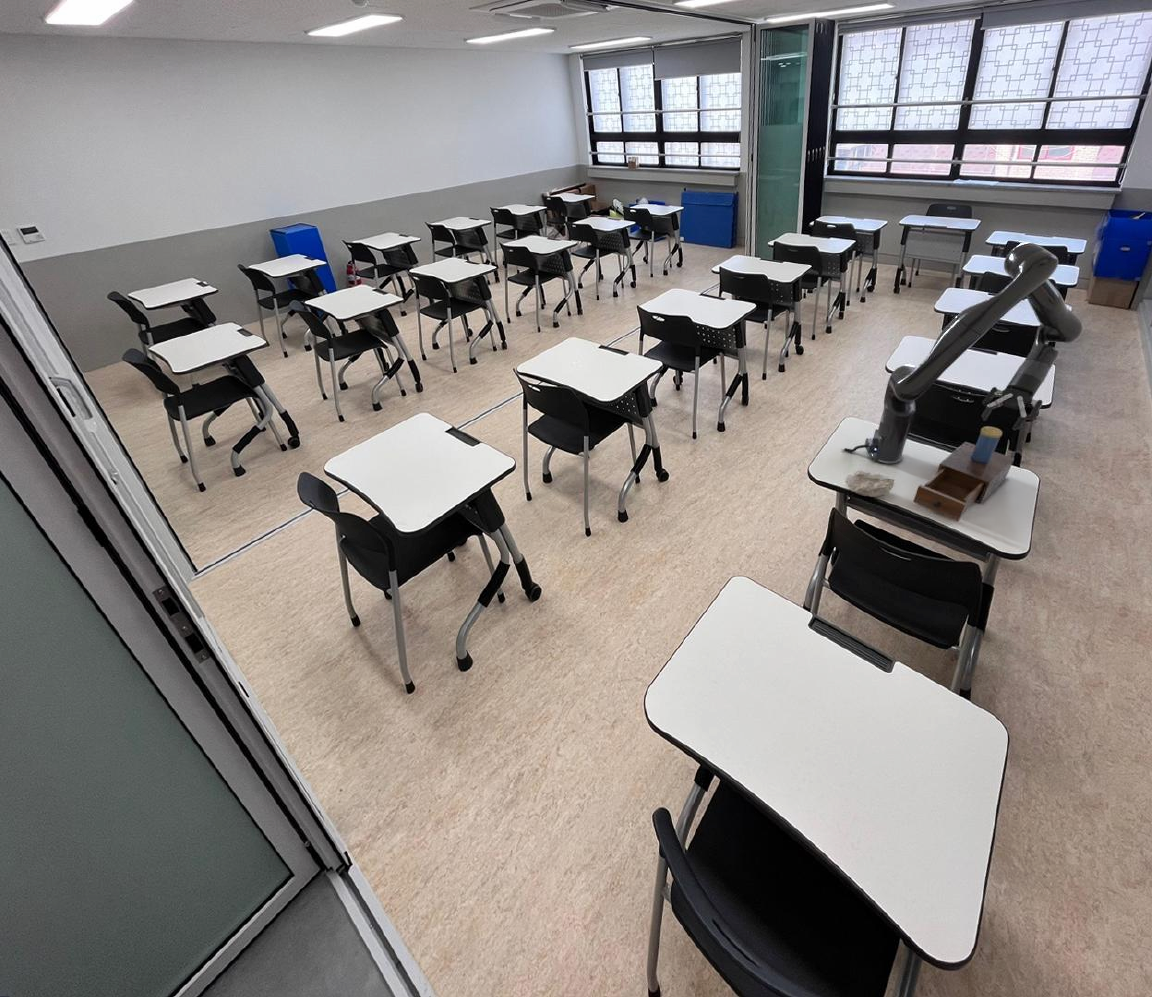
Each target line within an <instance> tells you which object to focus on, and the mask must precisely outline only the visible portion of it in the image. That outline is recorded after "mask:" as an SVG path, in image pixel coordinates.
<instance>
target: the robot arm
mask: <svg viewBox="0 0 1152 997" xmlns="http://www.w3.org/2000/svg"><path fill="white" fill-rule="evenodd" d="M1058 266H1059V259H1058V257H1057V256H1056V255H1055V254H1054V253H1052V252H1051V251H1049V250H1047V249H1046V248H1044V247H1043V246H1041V245H1039V244H1037V243H1033V242H1025V243H1020V244H1019V245H1016V247H1014V248H1013V249H1011V250H1010V251H1009V253H1008V254H1007V255H1006V257H1005V258H1004V262H1003V269H1004V271H1005V273H1006V274H1007V275H1008V276H1009V277H1010V278H1011V279H1013V280H1012V281H1011V282H1010V283H1008V284H1007V285H1006V286H1005V287H1004V288H1003V289H1002V290H1001V291H999V292H997V293H996V294H995V295H994V296H992V297H990V298H987V299H984V300H983V301H980V302H978V303H975V304H972V305H970V306H968V307H966V308H965V309H963V310H961V311H960V312H959V313H958V314H957V315H956V316H955V317H954V318H953V319H952V320H950V322H948V324H947V325H946V326H945V327H944V328H943V329H942V331H941V332H940V334H939V335H938V336H937V338H936V340H935V342H934V345H933V346H932V348H931V350H930V352H929V353H928V355H927V356H926V357H925V359H924V360H923V361H922V362H921V363H920V364H919V365H918V366H917V367H916V366H915V365H913V364H912V365H911V364H904V365H901V366H899V367H896V369H895V370H893V371H892V373H891V374H890V376H889V378H888V382H887V384H886V390H885V393H884V398H883V410H882V414H881V417H880V420H879V424H878V428H877V429H875V430H874V434H873V437H870V438H869V437H867V438H865V441H864V444H860V445H855V447H853V448H846V447H845V448H844V450H843V451H844V452H847V453H854V452H856V451H857V450H859V449H864V448H865V450H866V452H867V453H868V454H870V457H871V458H872V459H873V462H878V463H881V464H887V465H893V464H897V463H899V462H901V460H902V456H903V452H904V448H905V445H906V442H907V439H908V435H909V433H910V429H911V426H912V423H913V420H914V416H915V413H916V401H917V400H918V399H920V398H921V397H922V396H924V395H925V394H926V393H927V391H928V390H929V389H930V388H931V387H932V386H933V385H934V383H936V381H938V379H939V378H940V377H941V376H942V375H943V374H944V372H945V371H947V369H949V368H950V367H951V366H952V364H954V363H955V362H956V361H957V360H958V359H959V358H960V357H961V356H962V355H963V354H964V353H965V352H967V351H968V350H969V349H970V348H971V347H972V346H973V345H975V343H977V341H978V340H980V339H981V338H982V337H983V336H984V335H985V334H986V333H987V332H988V331H989V330H990V329H991V328H992V327H993V326H995V324H996V323H998V322H999V321H1000V320H1001V319H1002V318H1003V317H1004V316H1005V315H1006V314H1008V313H1009V312H1010V311H1011V310H1012V309H1014V308H1015V307H1016V306H1017V305H1018V304H1019V303H1020V302H1022V301H1023V300H1024V299H1027V301H1028V303H1029V305H1030V307H1031V309H1032V311H1033V314H1034V315H1035V318H1036V319H1037V321H1038V323H1039V325H1038V327H1037V330H1036V334H1035V339H1034V342H1033V345H1032V347H1031V350H1030V352H1029V353H1028V355H1027V356H1026V358H1025V359H1024V360H1023V362H1022V363H1021V364H1020V365H1019V367H1018V368H1017V370H1016V371H1015V372H1014V374H1013V376H1012V378H1011V380H1010V381H1009V382H1008V384H1007V386H1006V387H1005V388H1004V389H1003V390H1002V389H999V388H998V387H996V386H993V387H992V388H991V389H990V391H989V392H988V393H987V395H986V396H985V398H984V399H983V400H982V406H983V407H985V409H984V411H983V412H982V414H981V419H982V421H987V419H988V418H989V416H990V415H991V413H992V411H993V410H994V409H997V408H1000V407H1002V406H1004V408H1010V409H1012V410H1014V411H1017V410H1019V415H1020V416H1019V417H1018V418H1017V420H1016V422H1015V423H1014V425H1013V426H1012V431H1016V430H1020V428H1021V427H1022V425H1023V424H1024V422H1025V421H1034V420H1035V419H1036V417H1037V415H1038V414H1039V412H1040V411H1041V410H1040V409H1041V408H1042V406H1043V400H1042V399H1038V400H1037V399H1033V398H1034V396H1035V395H1036V393H1037V392H1038V390H1039V389H1040V387H1041V386H1042V384H1043V383H1044V382H1045V381H1046V380H1045V379H1046V378H1047V376H1048V374H1049V372H1050V370H1051V369H1052V367H1053V365H1054V364H1055V362H1056V361H1057V359H1058V358H1059V356H1060V351H1059V349H1058V348H1056V347H1055V346H1053V345H1050V344H1049V343H1050V342H1053V343H1063V344H1069V343H1070V344H1071V343H1073V342H1075V341H1077V340H1078V339H1079V338H1080V337H1081V335H1082V333H1083V331H1084V325H1083V323H1082V321H1081V319H1080V318H1079V316H1077V315H1076V314H1075V313H1074V312H1073V311H1072V310H1070V309H1069V308H1068V307H1067V305H1066V303H1065V300H1064V298H1063V296H1062V294H1061V293H1060V291H1059V290H1058V289H1057V288H1056V286H1055V285H1054V284H1053V283H1052V282H1051V281H1050V277H1052V275H1053V274H1054V273H1055V272H1056V270H1057V268H1058ZM999 395H1000V397H999V398H998V399H995V401H992V400H993V399H994V398H995V397H997V396H999ZM991 401H992V402H991ZM1031 404H1032V410H1031V412H1030V413H1029V414H1027V412H1026V408H1025V407H1026V406H1028V405H1031Z"/></svg>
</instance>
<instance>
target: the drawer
mask: <svg viewBox="0 0 1152 997" xmlns="http://www.w3.org/2000/svg"><path fill="white" fill-rule="evenodd" d="M936 473H937V472H936ZM936 473H935V474H934V475H933V476H932V477H931V478H929V480H927V481H926V482H925V483H924V484H919V485H918V486H917V490H916V492H915V495H914V497H913V503H914V504H917V505H919V506H921V507H924V508H926V509H929V510H931V511H934V512H936V513H937V514H940V515H942V516H944V517H946V518H949V519H952V520H954V521H956V522H959V521H960V520H961V518H962V517H963V513H964V512H966V510H967V509H969V507H971V506H972V504H974V503H975V502H976V501H975V500H976V499H977V498H978V497H980V496H981V493H982V491H983V489H984V487H985V484H986V483H984V482H981V481H978V480H976V479H973V478H971V477H968V476H965V475H963V474H960V473H957V472H955V471H952V470H950V469H947V468H943V469H941V470H940V471H939V472H938V473H937V474H936Z"/></svg>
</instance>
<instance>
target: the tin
mask: <svg viewBox="0 0 1152 997" xmlns="http://www.w3.org/2000/svg"><path fill="white" fill-rule="evenodd" d="M1002 435H1003V431H1002V430H1001V429H999V428H998V427H995V426H983V427H982V428H981V429H980V433H979V435H978V438H977V441H976V443H975V444H974V445H975V448H974V450H973V453H972V455H971V457H972V458H973V459H974V460H976V461H978V462H989V461H990V460H991V457H992V455H993V453H994V452H995V451H996V448H997V445H998V443H999V441H1000V439H1001V437H1002Z"/></svg>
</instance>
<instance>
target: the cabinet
mask: <svg viewBox="0 0 1152 997" xmlns="http://www.w3.org/2000/svg"><path fill="white" fill-rule="evenodd" d="M975 445H976V444H973V443H970V442H968V441H964V442H963V443H962V444H961V445H960V446H958V447H957V448H956V449H955V450H954V451H953V452H951V453H950V454H949V455H948V456H947V457H946V458H945V459H943V460H942V461H941V462H940V463H939V465H938V467H937V470H936V473H935V475H936V474H937V473H938V472H939V471H940V470H941V469H943V468H947V469H950V470H952V471H955V472H957V473H960V474H963V475H965V476H968V477H971V478H973V479H976V480H978V481H981V482H984V483H986V484H985V487H984V489H983V491H982V493H981V496H980V497H978V498H977V499H976V500H975V501H974V502H977V503H979V504H982V503H983V502H984V501H985V500H986V499H987V498H988V497H989V496H990V495H991V494H992V493H993V492H994V491H995V490H996V489H997V488H998V487H999V486H1000V485H1001V484H1002V483H1003V482H1004V481H1005V480H1006V478H1007V476H1008V474H1009V472H1010V469H1011V467H1012V465H1013V463H1014V462H1015V458H1014V457H1011V456H1008V455H1006V454H1003V453H999V452H997V451H994V453H993V455H992V457H991V460H990V461H989V462H978V461H976V460H974V459H973V458H972V457H971V455H972V453H973V450H974V448H975Z"/></svg>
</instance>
